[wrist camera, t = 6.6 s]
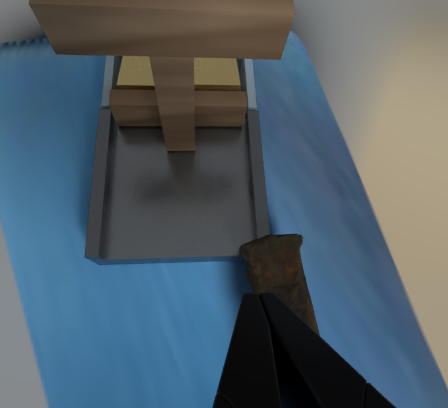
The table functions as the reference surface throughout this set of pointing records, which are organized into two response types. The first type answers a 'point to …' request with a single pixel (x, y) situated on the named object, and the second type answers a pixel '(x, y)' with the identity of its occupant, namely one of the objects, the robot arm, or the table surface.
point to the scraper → (170, 52)
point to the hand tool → (280, 272)
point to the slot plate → (175, 194)
